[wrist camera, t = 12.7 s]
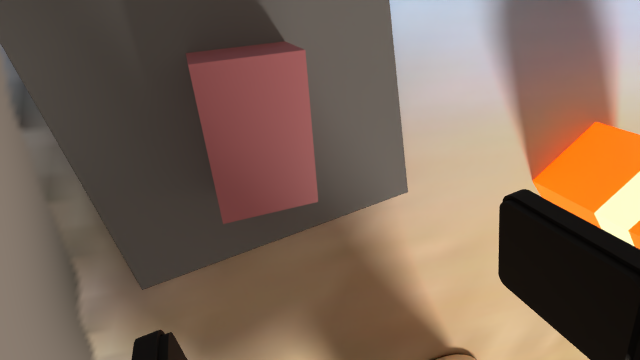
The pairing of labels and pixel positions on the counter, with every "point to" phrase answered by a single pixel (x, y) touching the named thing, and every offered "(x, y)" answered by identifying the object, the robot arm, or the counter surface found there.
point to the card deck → (256, 127)
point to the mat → (183, 117)
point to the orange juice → (598, 181)
